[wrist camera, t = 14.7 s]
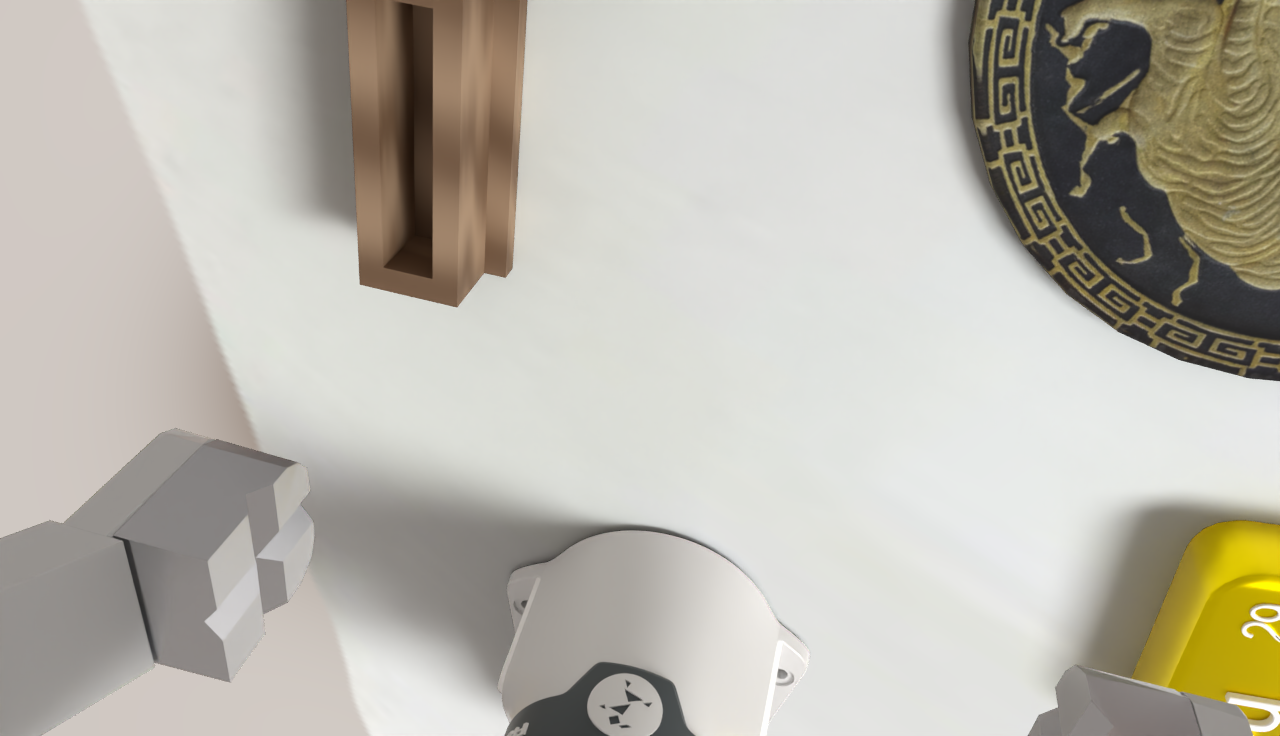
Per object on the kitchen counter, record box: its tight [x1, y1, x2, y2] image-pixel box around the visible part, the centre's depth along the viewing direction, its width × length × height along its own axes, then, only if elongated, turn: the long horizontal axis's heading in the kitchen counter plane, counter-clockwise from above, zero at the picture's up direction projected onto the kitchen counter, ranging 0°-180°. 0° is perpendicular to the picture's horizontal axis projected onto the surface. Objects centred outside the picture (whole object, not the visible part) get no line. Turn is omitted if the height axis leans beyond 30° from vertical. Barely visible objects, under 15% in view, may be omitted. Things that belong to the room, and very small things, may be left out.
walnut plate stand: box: [346, 0, 527, 307], centre depth 42 cm, size 14×7×4 cm, turn 173°
